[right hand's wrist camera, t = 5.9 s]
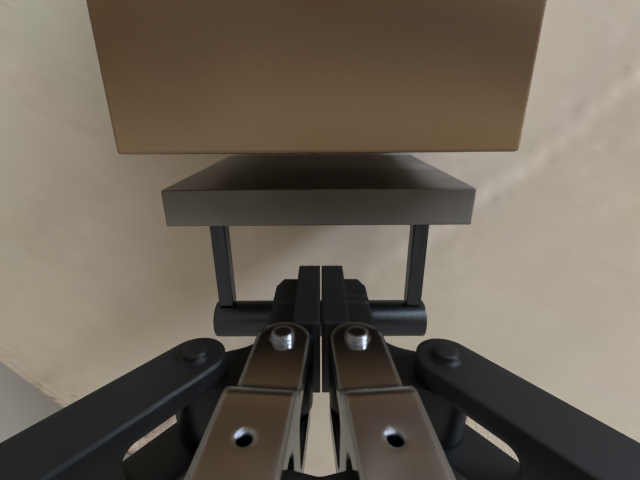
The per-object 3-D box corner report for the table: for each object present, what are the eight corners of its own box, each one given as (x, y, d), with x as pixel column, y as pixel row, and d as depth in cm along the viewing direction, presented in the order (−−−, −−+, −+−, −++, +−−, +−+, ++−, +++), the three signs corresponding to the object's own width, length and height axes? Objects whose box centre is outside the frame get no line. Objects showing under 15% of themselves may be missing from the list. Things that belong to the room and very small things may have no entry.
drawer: (401, 271, 21) (449, 368, 13) (240, 271, 21) (191, 369, 13) (442, -233, 14) (615, -723, 6) (191, -229, 14) (6, -706, 6)
